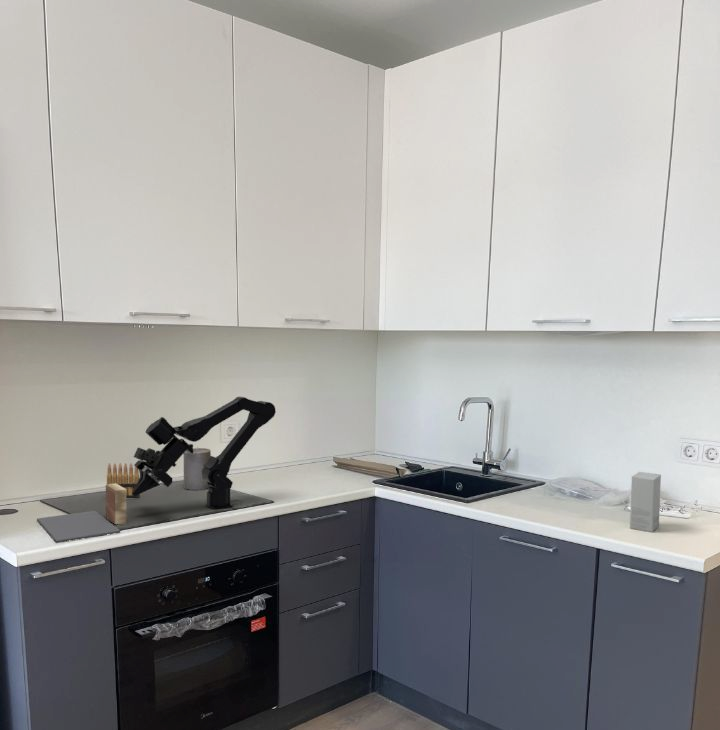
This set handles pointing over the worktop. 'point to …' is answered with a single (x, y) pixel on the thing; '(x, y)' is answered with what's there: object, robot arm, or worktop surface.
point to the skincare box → (645, 501)
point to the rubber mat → (77, 526)
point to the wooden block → (116, 503)
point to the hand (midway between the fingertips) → (132, 495)
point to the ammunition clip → (124, 478)
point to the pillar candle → (195, 468)
